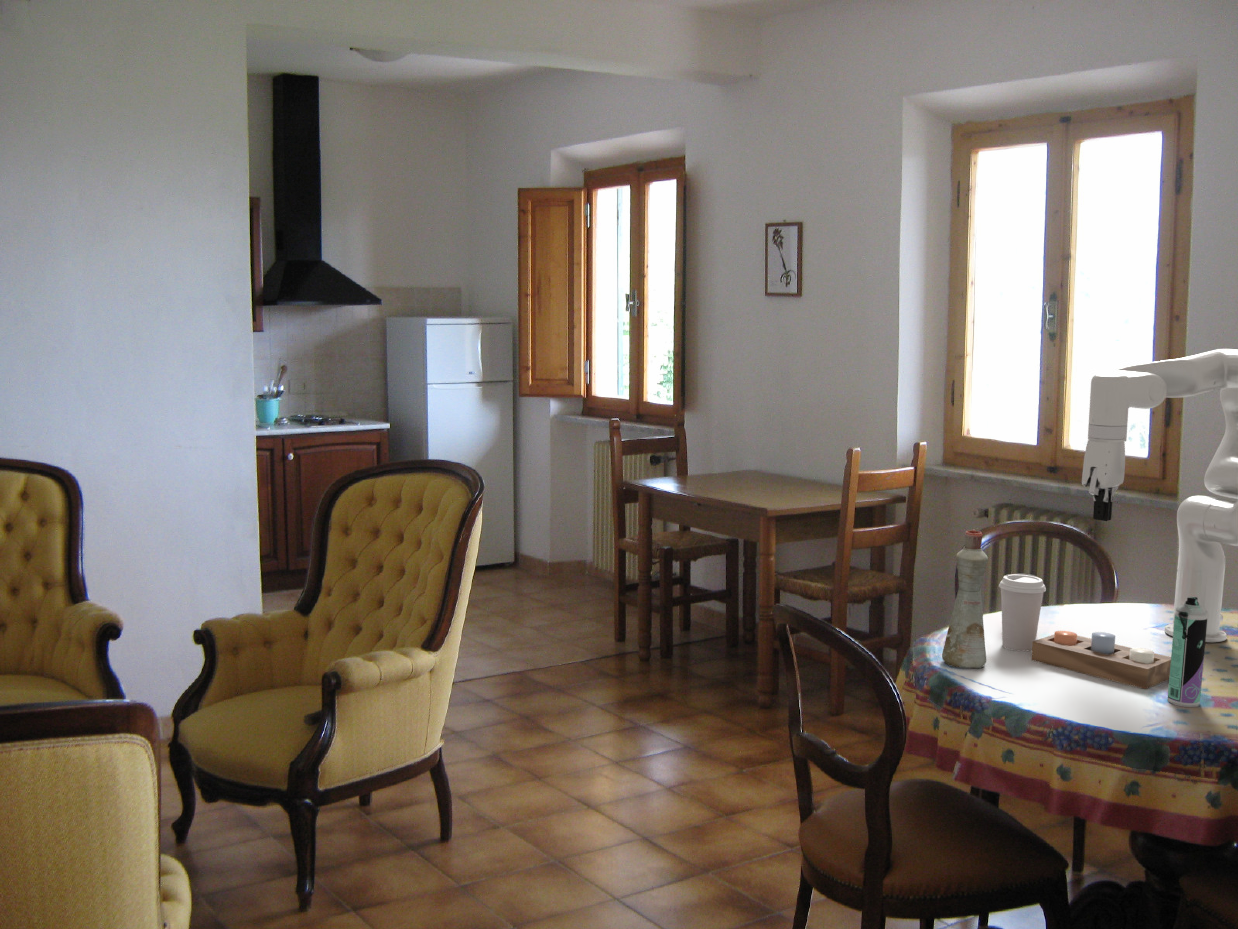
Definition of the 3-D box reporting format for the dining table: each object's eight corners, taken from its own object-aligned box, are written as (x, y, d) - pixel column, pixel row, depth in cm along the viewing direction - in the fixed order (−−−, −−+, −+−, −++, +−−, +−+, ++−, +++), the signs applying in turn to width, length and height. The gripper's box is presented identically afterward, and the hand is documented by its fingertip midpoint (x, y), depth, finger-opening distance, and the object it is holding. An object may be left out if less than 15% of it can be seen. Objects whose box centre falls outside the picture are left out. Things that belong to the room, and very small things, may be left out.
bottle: (949, 671, 242) (957, 532, 238) (936, 657, 251) (944, 524, 247) (992, 671, 242) (1001, 533, 238) (977, 658, 251) (986, 525, 247)
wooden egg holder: (1060, 650, 258) (1061, 632, 258) (1173, 677, 241) (1175, 658, 240) (1031, 660, 250) (1032, 641, 250) (1145, 689, 233) (1147, 669, 232)
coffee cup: (1019, 639, 267) (1023, 572, 265) (1051, 650, 258) (1056, 581, 256) (985, 643, 262) (989, 575, 260) (1017, 655, 254) (1022, 585, 252)
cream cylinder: (1134, 670, 243) (1136, 646, 242) (1156, 675, 239) (1158, 651, 239) (1124, 674, 240) (1125, 650, 239) (1146, 679, 236) (1148, 655, 236)
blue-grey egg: (1096, 653, 248) (1098, 631, 248) (1117, 658, 245) (1119, 635, 244) (1086, 657, 245) (1087, 634, 245) (1107, 662, 242) (1108, 639, 242)
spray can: (1197, 709, 222) (1207, 602, 219) (1165, 703, 225) (1174, 597, 222) (1201, 701, 226) (1210, 596, 224) (1169, 695, 229) (1178, 592, 227)
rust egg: (1059, 651, 254) (1061, 629, 254) (1079, 656, 251) (1081, 634, 251) (1048, 655, 251) (1050, 633, 251) (1068, 660, 248) (1070, 637, 248)
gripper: (1106, 429, 261) (1101, 513, 263) (1072, 434, 251) (1067, 521, 253) (1141, 432, 255) (1135, 518, 258) (1107, 437, 245) (1102, 526, 248)
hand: (1102, 519), depth 255 cm, fingers closed
